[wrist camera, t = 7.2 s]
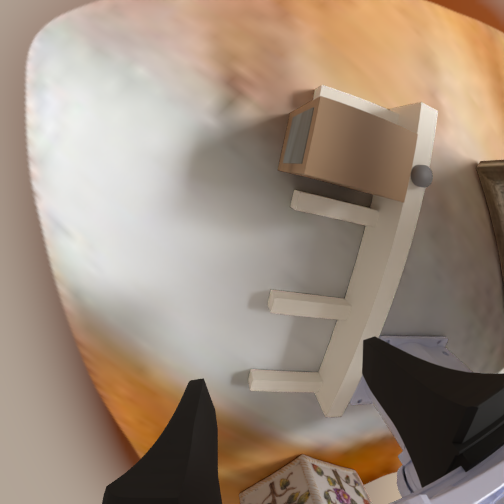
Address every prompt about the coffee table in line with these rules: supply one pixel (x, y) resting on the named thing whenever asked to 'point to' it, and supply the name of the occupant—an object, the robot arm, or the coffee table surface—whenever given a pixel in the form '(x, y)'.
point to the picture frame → (494, 199)
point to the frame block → (348, 149)
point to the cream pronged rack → (357, 267)
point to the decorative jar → (308, 485)
